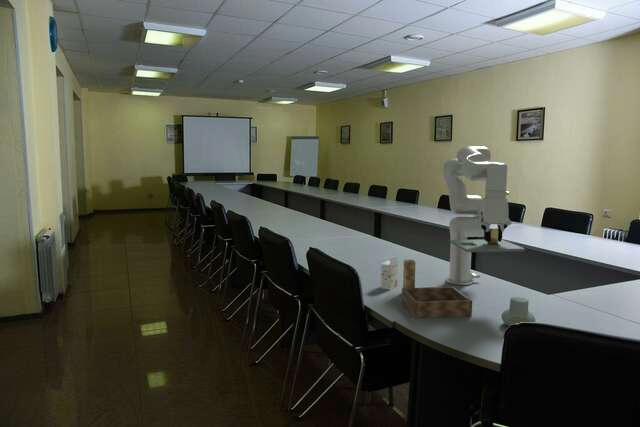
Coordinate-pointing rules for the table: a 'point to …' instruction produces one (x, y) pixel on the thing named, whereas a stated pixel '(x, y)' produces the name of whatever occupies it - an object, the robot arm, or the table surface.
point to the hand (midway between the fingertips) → (492, 240)
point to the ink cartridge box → (389, 273)
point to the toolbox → (436, 302)
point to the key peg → (409, 274)
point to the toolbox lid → (487, 244)
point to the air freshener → (517, 312)
